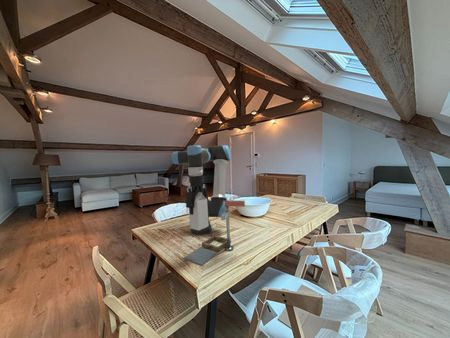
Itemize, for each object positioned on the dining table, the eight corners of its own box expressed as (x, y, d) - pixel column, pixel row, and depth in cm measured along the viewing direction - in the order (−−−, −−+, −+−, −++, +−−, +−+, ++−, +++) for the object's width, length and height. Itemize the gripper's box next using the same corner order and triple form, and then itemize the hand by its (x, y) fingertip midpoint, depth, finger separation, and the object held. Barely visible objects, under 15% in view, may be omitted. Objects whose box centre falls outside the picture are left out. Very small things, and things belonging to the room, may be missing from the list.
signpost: (244, 258, 93) (242, 206, 92) (222, 256, 96) (219, 205, 94) (246, 246, 105) (244, 200, 103) (227, 245, 108) (224, 200, 106)
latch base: (222, 249, 105) (222, 248, 105) (228, 245, 109) (227, 244, 109) (230, 252, 102) (230, 250, 102) (235, 247, 106) (235, 246, 106)
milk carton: (199, 224, 104) (197, 190, 102) (208, 226, 99) (206, 191, 98) (189, 228, 98) (187, 192, 97) (198, 231, 94) (196, 193, 92)
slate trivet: (183, 258, 98) (183, 257, 98) (200, 248, 109) (200, 247, 109) (201, 265, 91) (201, 264, 90) (217, 253, 101) (217, 252, 101)
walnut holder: (202, 247, 109) (201, 243, 109) (214, 239, 120) (214, 235, 119) (218, 252, 102) (218, 248, 102) (231, 243, 113) (230, 239, 112)
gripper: (186, 177, 86) (189, 225, 88) (213, 173, 103) (215, 213, 104) (176, 177, 91) (179, 222, 92) (203, 173, 107) (205, 211, 109)
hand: (198, 217), depth 98 cm, fingers closed on milk carton, 7 cm apart
